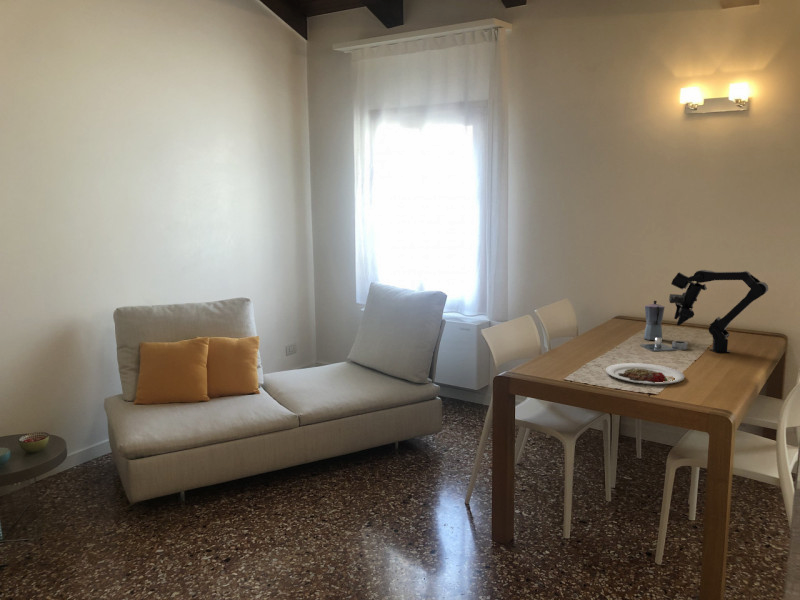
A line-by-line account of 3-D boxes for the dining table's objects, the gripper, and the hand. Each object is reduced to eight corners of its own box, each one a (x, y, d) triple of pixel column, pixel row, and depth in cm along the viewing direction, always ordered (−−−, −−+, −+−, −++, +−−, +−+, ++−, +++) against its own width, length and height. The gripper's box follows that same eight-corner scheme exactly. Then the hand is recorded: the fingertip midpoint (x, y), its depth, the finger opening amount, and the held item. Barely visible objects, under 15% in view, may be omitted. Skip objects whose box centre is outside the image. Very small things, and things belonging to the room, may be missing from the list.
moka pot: (658, 336, 335) (660, 298, 332) (667, 343, 320) (670, 303, 316) (639, 336, 336) (642, 298, 333) (648, 342, 321) (650, 303, 317)
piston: (676, 350, 304) (677, 340, 303) (652, 351, 302) (653, 341, 301) (662, 344, 316) (663, 335, 315) (639, 345, 314) (640, 335, 313)
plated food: (621, 363, 281) (621, 356, 281) (693, 375, 263) (694, 367, 262) (594, 378, 258) (594, 370, 258) (670, 392, 240) (671, 383, 239)
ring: (689, 349, 306) (689, 343, 305) (677, 350, 305) (677, 343, 304) (681, 346, 312) (682, 340, 311) (669, 347, 311) (670, 341, 311)
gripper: (672, 282, 316) (658, 309, 322) (677, 293, 299) (662, 322, 305) (694, 290, 314) (679, 318, 320) (701, 302, 297) (685, 331, 303)
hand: (676, 322), depth 312 cm, fingers open, 9 cm apart
